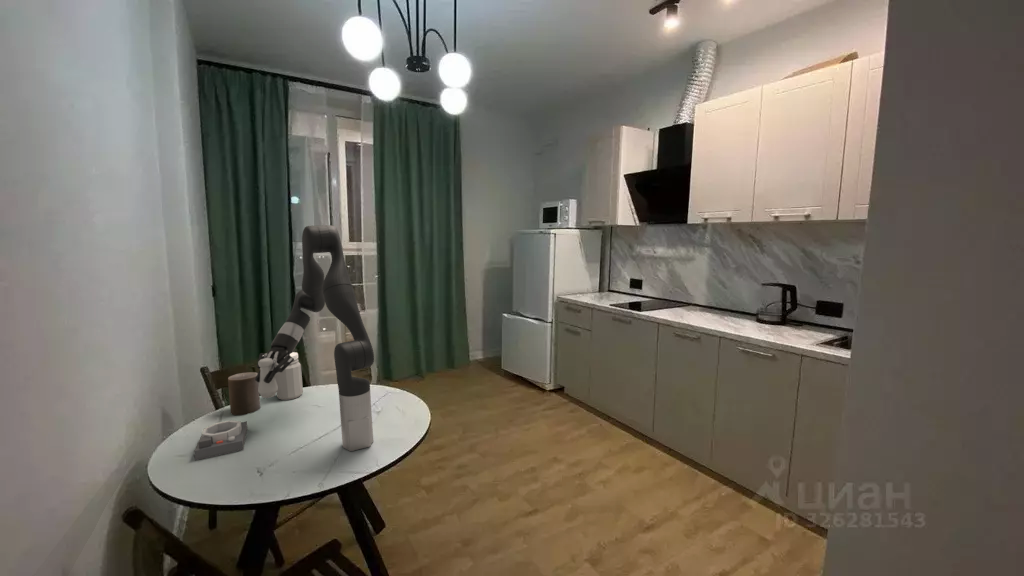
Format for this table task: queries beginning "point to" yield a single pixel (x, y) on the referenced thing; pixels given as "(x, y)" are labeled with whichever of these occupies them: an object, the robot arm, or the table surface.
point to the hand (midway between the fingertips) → (262, 381)
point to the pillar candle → (243, 393)
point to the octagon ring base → (221, 439)
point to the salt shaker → (264, 388)
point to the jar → (290, 380)
